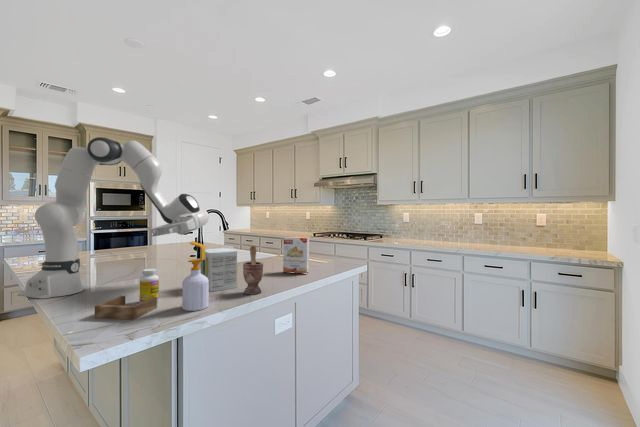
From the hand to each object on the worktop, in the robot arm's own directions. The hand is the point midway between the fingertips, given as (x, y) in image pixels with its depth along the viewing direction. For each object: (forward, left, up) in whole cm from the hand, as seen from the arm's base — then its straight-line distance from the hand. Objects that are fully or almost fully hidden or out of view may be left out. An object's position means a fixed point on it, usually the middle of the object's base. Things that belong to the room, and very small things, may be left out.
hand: (159, 233), depth 131 cm
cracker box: (+49, +53, -27) cm, 77 cm away
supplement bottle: (+1, -9, -27) cm, 28 cm away
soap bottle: (+22, -13, -27) cm, 37 cm away
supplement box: (+18, +17, -27) cm, 37 cm away
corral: (+1, -21, -27) cm, 34 cm away
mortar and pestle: (+36, +11, -27) cm, 47 cm away
